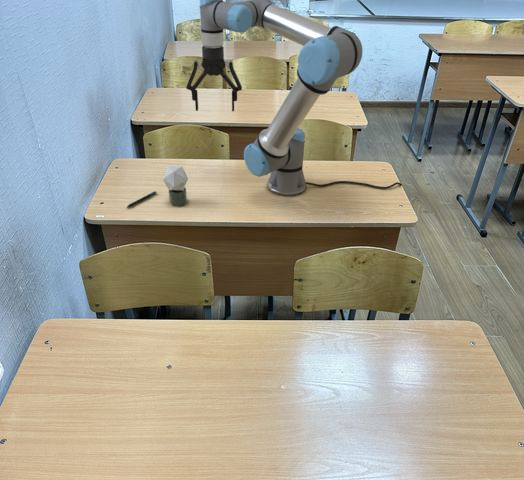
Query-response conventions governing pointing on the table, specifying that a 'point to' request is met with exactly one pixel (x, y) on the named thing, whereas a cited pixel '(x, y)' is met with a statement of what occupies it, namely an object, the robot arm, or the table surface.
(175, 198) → the cup
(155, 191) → the pen
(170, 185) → the die
